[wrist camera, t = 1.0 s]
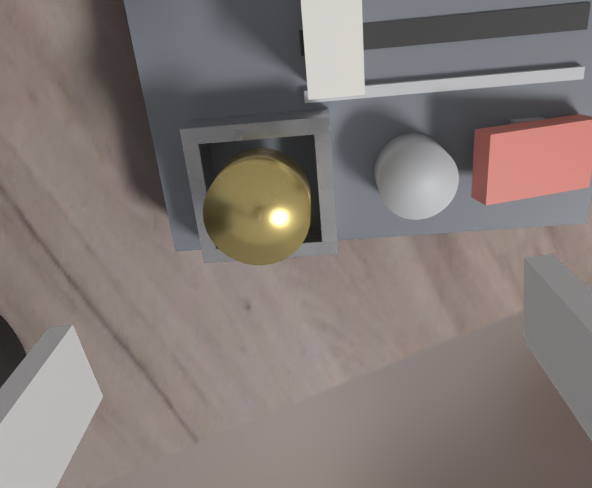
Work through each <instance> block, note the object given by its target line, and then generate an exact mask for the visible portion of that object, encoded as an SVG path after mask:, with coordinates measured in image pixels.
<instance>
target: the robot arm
mask: <svg viewBox="0 0 592 488" xmlns="http://www.w3.org/2000/svg"><path fill="white" fill-rule="evenodd" d="M524 341H525V343H526V344H527V346H528V347H529V349H530V350H531V352H532V353H533V355H534V356H535V357H536V359H537V360H538V362H539V364H540V365H541V366H542V368H543V369H544V371H545V372H546V374H547V375H548V377H549V378H550V380H551V381H552V383H553V384H554V386H555V387H556V389H557V390H558V392H559V393H560V394H561V396H562V398H563V399H564V400H565V402H566V403H567V405H568V406H569V408H570V409H571V411H572V412H573V414H574V415H575V416H576V418H577V420H578V421H579V423H580V424H581V426H582V427H583V429H584V430H585V431H586V433H587V435H588V436H589V438H590V439H591V441H592V291H591V290H590V289H589V288H588V287H587V286H586V285H585V284H584V283H583V282H582V281H581V280H580V279H579V278H578V277H577V276H576V275H574V274H573V273H572V272H571V271H570V270H569V269H568V268H567V267H566V266H565V265H564V264H563V263H562V262H561V261H560V260H559V259H558V258H557V257H556V256H555V255H554V254H547V255H540V256H533V257H526V258H524ZM102 398H103V395H102V393H101V391H100V388H99V386H98V383H97V381H96V379H95V376H94V374H93V372H92V369H91V367H90V365H89V362H88V360H87V357H86V355H85V353H84V350H83V348H82V346H81V343H80V341H79V339H78V336H77V334H76V331H75V329H74V327H73V325H67V326H61V327H54V328H48V329H47V331H46V332H45V333H44V334H43V336H42V337H41V338H40V339H39V341H38V342H37V343H36V344H35V346H34V347H33V348H32V349H31V351H30V352H29V353H28V354H27V356H26V353H25V351H24V348H23V346H22V344H21V343H20V341H19V339H18V338H17V336H16V334H15V333H14V332H13V330H12V329H11V328H10V326H9V325H8V324H7V323H6V322H5V321H4V320H3V319H2V318H1V317H0V488H56V487H57V485H58V483H59V481H60V479H61V477H62V475H63V473H64V471H65V470H66V468H67V466H68V464H69V462H70V460H71V458H72V456H73V454H74V452H75V450H76V448H77V446H78V444H79V442H80V440H81V439H82V437H83V435H84V433H85V431H86V429H87V427H88V425H89V423H90V421H91V419H92V417H93V415H94V413H95V411H96V409H97V408H98V406H99V404H100V402H101V400H102Z"/></svg>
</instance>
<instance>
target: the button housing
mask: <svg viewBox="0 0 592 488" xmlns="http://www.w3.org/2000/svg"><path fill="white" fill-rule="evenodd" d="M180 135H181V140H182V146H183V151H184V157H185V162H186V167H187V173H188V178H189V184H190V189H191V195H192V200H193V206H194V211H195V217H196V222H197V227H198V233H199V238H200V244H201V249H202V255H203V260H204V263H214V262H229V261H236V260H234V259H232V258H230V257H229V256H227V255H226V254H224V253H223V252H222V251H221V250H219V249H218V248H217V247H216V245H215V244H214V243H213V242H212V240H211V239H210V237H209V235H208V233H207V231H206V228H205V225H204V221H203V204H204V200H205V197H206V194H207V192H208V190H209V188H210V186H211V185H212V183H213V181H214V180H215V175H214V169H213V163H212V157H211V151H210V144H209V143H218V142H230V141H242V140H254V139H267V138H279V137H291V136H303V135H314V137H315V150H316V164H317V177H318V191H319V204H320V218H321V224H317V225H310V227H309V230H308V233H307V236H306V238H305V240H304V241H303V243H302V244H301V246H300V247H299V248H298V249H297V250H296V251H295V252H294V253H293V254H291V255H290V256H289V257H304V256H319V255H335V254H338V246H337V229H336V213H335V197H334V180H333V164H332V148H331V131H330V116H329V109H328V108H320V109H308V110H296V111H285V112H273V113H261V114H249V115H238V116H226V117H214V118H203V119H191V120H190V121H188V122H187V123H186V124H185V125H184V126H183V127H182V128H181V129H180ZM289 257H287V258H289Z"/></svg>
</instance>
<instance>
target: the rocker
mask: <svg viewBox="0 0 592 488" xmlns="http://www.w3.org/2000/svg"><path fill="white" fill-rule="evenodd" d="M591 172H592V117H591V116H587V115H582V114H576V115H569V116H562V117H555V118H549V119H546V120H535V121H528V122H522V123H515V124H508V125H501V126H495V127H488V128H481V129H475V135H474V153H473V171H472V189H471V197H472V198H473V199H475V200H477V201H479V202H480V203H482V204H484V205H492V204H498V203H503V202H509V201H515V200H520V199H526V198H532V197H537V196H543V195H549V194H554V193H560V192H566V191H571V190H577V189H582V188H588V187H589V185H590V179H591Z"/></svg>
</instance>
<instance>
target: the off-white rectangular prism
mask: <svg viewBox="0 0 592 488" xmlns="http://www.w3.org/2000/svg"><path fill="white" fill-rule="evenodd" d="M301 11H302V24H303V37H304V50H305V63H306V76H307V89H308V100H311V99H323V98H335V97H346V96H358V95H365V80H364V49H363V18H362V0H301Z"/></svg>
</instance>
